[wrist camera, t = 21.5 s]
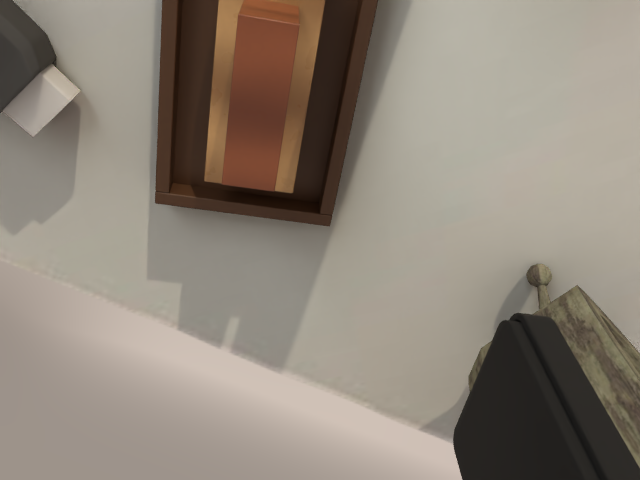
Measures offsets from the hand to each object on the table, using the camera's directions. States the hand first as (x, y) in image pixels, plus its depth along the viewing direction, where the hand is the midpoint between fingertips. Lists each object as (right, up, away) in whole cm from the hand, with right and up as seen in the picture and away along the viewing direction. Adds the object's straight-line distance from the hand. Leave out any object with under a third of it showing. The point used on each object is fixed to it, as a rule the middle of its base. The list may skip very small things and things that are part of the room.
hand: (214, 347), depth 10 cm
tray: (-1, +12, +24) cm, 26 cm away
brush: (-1, +11, +23) cm, 26 cm away
